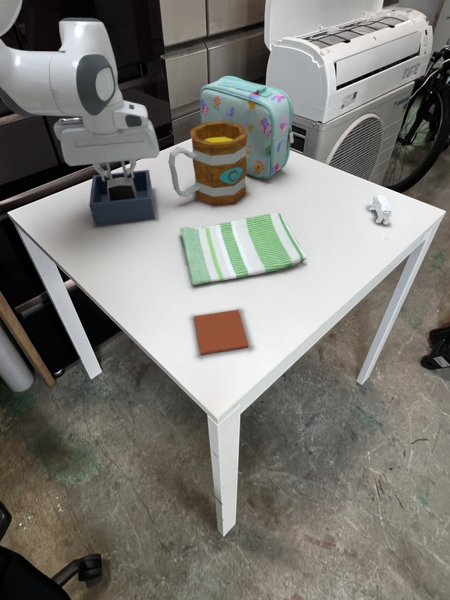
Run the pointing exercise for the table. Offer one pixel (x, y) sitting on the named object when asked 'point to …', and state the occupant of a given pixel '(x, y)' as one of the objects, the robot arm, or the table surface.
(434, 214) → the table surface
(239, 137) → the mug
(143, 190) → the basket
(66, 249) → the table surface
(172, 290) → the table surface
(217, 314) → the mat
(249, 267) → the dish towel
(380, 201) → the figurine
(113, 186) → the padlock
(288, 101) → the lunch box
